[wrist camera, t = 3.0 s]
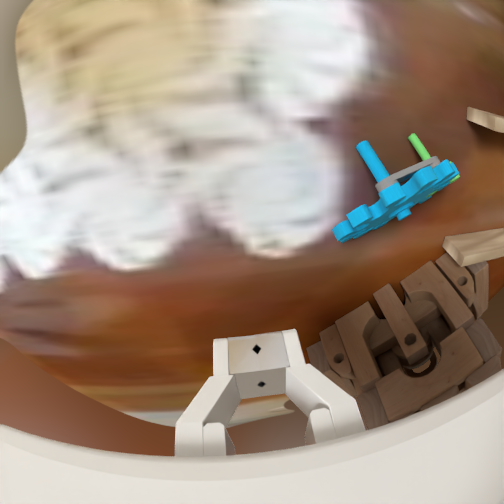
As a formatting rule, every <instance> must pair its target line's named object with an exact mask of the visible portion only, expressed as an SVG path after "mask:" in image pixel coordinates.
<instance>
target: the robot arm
mask: <svg viewBox="0 0 504 504" xmlns="http://www.w3.org/2000/svg"><path fill="white" fill-rule="evenodd" d="M213 373H214V376H212V377H209V378H208V380H207V381H206V382H205V384H204V385H203V387H202V388H201V389H200V391H199V392H198V394H197V395H196V396H195V398H194V399H193V401H192V402H191V403H190V405H189V406H188V407H187V409H186V410H185V411H184V413H183V414H182V416H181V417H180V418H179V420H178V421H177V422H176V433H175V456H151V455H138V454H128V453H120V452H112V451H105V450H98V449H93V448H87V447H82V446H77V445H72V444H67V443H63V442H59V441H55V440H51V439H47V438H43V437H40V436H36V435H33V434H29V433H26V432H23V431H20V430H17V429H14V428H12V427H9V426H6V425H2V424H0V504H504V369H502V370H501V371H499V372H497V373H496V374H494V375H492V376H491V377H489V378H487V379H486V380H484V381H482V382H480V383H479V384H477V385H475V386H473V387H471V388H469V389H467V390H466V391H464V392H462V393H460V394H458V395H456V396H454V397H452V398H450V399H447V400H445V401H443V402H441V403H439V404H437V405H434V406H432V407H430V408H428V409H425V410H423V411H420V412H418V413H415V414H413V415H410V416H408V417H405V418H403V419H400V420H397V421H394V422H391V423H389V424H386V425H383V426H380V427H377V428H373V429H370V430H367V431H366V430H365V427H364V424H363V421H362V418H361V415H360V412H359V409H358V406H357V403H356V400H355V399H354V398H353V397H351V396H350V395H349V394H347V393H346V392H345V391H344V390H342V389H341V388H340V387H338V386H337V385H336V384H335V383H333V382H332V381H331V380H330V379H328V378H327V377H326V376H325V375H323V374H322V373H321V372H320V371H318V370H317V369H316V368H315V367H313V366H312V365H311V364H306V363H305V359H304V356H303V352H302V348H301V345H300V341H299V337H298V334H297V331H296V329H291V330H285V331H277V332H270V333H264V334H257V335H253V336H243V337H232V338H221V339H214V342H213ZM284 393H286V395H287V396H288V397H289V398H290V399H291V400H292V401H293V402H294V403H295V404H296V405H297V407H298V408H299V409H300V410H301V411H302V412H303V413H304V414H305V415H306V416H307V417H308V418H309V420H308V424H307V429H306V434H305V442H306V446H301V447H295V448H290V449H283V450H276V451H269V452H261V453H252V454H242V455H235V447H234V445H233V443H232V441H231V439H230V437H229V435H228V433H227V431H226V427H227V425H228V423H229V422H230V420H231V418H232V416H233V414H234V412H235V410H236V409H237V407H238V405H239V403H240V401H241V399H246V398H253V397H260V396H267V395H276V394H284Z"/></svg>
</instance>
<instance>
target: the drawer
mask: <svg viewBox="0 0 504 504" xmlns="http://www.w3.org/2000/svg"><path fill="white" fill-rule="evenodd" d="M467 120H469V121H472V122H474V123H477V124H479V125H482V126H484V127H487V128H489V129H491V130H494V131H498V132H502V133H504V117H503V116H500V115H496V114H493V113H490V112H486V111H482V110H479V109H475V108H471V107H467ZM442 247H443V248H444V249H445V250H446V251H447V252H448V253H449V254H450V255H451V256H452V258H453V259H454V260H455V261H456V262H457V263H458V264H459V265H460V266H461V267H463V266H467V265H471V264H475V263H479V262H483V261H484V260H485V261H487V260H491V259H495V258H499V257H502V256H504V228H500V229H493V230H487V231H480V232H474V233H467V234H460V235H454V236H447V237H445V239H444V243H443V246H442Z"/></svg>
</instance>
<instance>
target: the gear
mask: <svg viewBox="0 0 504 504" xmlns="http://www.w3.org/2000/svg"><path fill="white" fill-rule="evenodd" d="M408 139H409V141H410V142H411V143H412V145H413V146H414V148H415V149H416V151H417V152H418V154H419V156H420V157H421V159H422V160H423V161H422V162H420V163H418V164H415V165H413V166H411V167H408V168H406V169H404V170H402V171H399V172H397V173H395V174H392V175H389V174H388V172H387V170H386V169H385V167H384V165H383V164H382V162H381V161H380V159H379V158H378V156H377V154H376V153H375V151H374V150H373V148H372V147H371V145H370V144H369V142H368V141H362V142H361V143H359V144H358V145H357V146H356V149H357V150H358V152H359V153H360V155H361V156H362V158H363V160H364V161H365V163H366V164H367V166H368V168H369V169H370V171H371V172H372V174H373V176H374V177H375V179H376V181H377V182H378V183H377V184H376V185H375V187H376V189H377V191H378V192H379V194H378V195H379V196H380V199H379V200H378V202H376V203H375V204H374V205H372V206H370V207H367V205H366V204H364V205H361V206H359V207H358V208H356V209H354V210H353V211H351V212H350V213H349V214H347V217H348V219H349V220H346V221H343V222H341V223H339V224H338V225H336V226H335V227H334V228H333V229H332V231H333V232H334V234H335V236H336V238H337V240H338V241H340V242H341V243H344V242H346V241H348V240H349V239H351V238H353V239H355V238H358V237H360V236H362V235H364V234H365V233H367V232H368V231H370V230H371V229H374V230H375V229H377V228H379V227H381V226H383V225H385V224H386V223H387V222H388V221H390V220H391V219H393V218H394V217H396V216H397V218H398V220H399V221H400V220H402V219H404V218H406V217H407V216H409V215H410V214H411V212H410V208H411V207H413V206H414V205H415V204H417V203H419V204H421V203H423V202H424V201H426V200H427V199H429V198H431V197H432V194H434V193H435V192H437V191H439V190H441V189H443V188H444V187H446V186H447V185H448V184H450V183H452V182H454V181H456V180H457V179H459V178H460V175H459V172H458V170H457V168H456V166H455V165H454V163H452V162H449V161H448V160H447V159H446V160H444V161H443V162H441V163H440V161H439V159H438V158H437V156H434V157H430V155H429V153H428V152H427V150H426V149H425V147H424V146H423V144H422V143H421V141H420V140H419V138H418V137H417V136H416V134H415V133H414V134H412V135H410V136H409V137H408ZM410 178H411V179H410ZM408 179H410V180H409V181H407V182H406V183H405V184H404V185H402V186H401V185H400V184H399V183H402V182H404V181H406V180H408Z"/></svg>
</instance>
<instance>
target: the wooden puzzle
mask: <svg viewBox="0 0 504 504" xmlns="http://www.w3.org/2000/svg"><path fill="white" fill-rule="evenodd" d="M435 263H436V266H435V265H434V264H433V262H432V261H431V260H430V261H429V262H427V263H426V264H425V265H423V266H422V267H420V268H419V269H418V270H416V271H415V272H413V273H412V274H411V275H409V276H408V277H406V278H405V279H403V280H402V281H400V284H401V286H402V289H403V291H404V294H405V297H406V299H405V305H404V306H403V304H402V302H401V301H400V299H399V297H398V296H397V294H396V293H395V291H394V290H393V288H392V286H391V285H390V283H388V284H387V285H385V286H384V287H382V288H381V289H379V290H378V291H376V292H375V293H373V296H374V298H375V299H376V301H377V303H378V305H379V307H380V308H381V310H382V312H383V314H384V316H385V318H386V319H379V318H378V317H377V315H376V313H375V311H374V309H373V308H372V306H371V304H370V303H369V301H367V302H366V303H364V304H363V305H361V306H360V307H358V308H356V309H355V310H353V311H351V312H350V313H348V314H346V315H345V316H343V317H341V318H340V319H338V320H336V321H335V324H333V325H332V326H330V327H328V328H326V329H325V330H323V331H321V332H319V335H320V338H321V341H319V342H317V343H315V344H313V345H311V346H310V347H308V348H306V349H307V353H308V357H309V360H310V364H311V365H312V366H313V367H315V368H316V369H317V370H318V371H320V372H321V373H322V374H323V375H325V376H326V377H327V378H328V379H330V380H331V381H332V382H333V383H335V384H336V385H337V386H338V387H340V388H341V389H342V390H344V391H345V392H346V393H347V394H349V395H350V396H357V395H358V396H357V398H358V400H359V404H360V407H361V410H362V413H363V416H364V419H365V422H366V425H367V428H368V430H370V429H373V428H377V427H380V426H383V425H386V424H389V423H391V422H394V421H397V420H400V419H403V418H405V417H408V416H410V415H413V414H415V413H418V412H420V411H423V410H425V409H428V408H430V407H432V406H434V405H437V404H439V403H441V402H443V401H445V400H447V399H450V398H452V397H454V396H456V395H458V394H460V393H462V392H464V391H466V390H467V389H469V388H471V387H473V386H475V385H477V384H479V383H480V382H482V381H484V380H486V379H487V378H489V377H491V376H492V375H494V374H496V373H497V372H499V371H501V363H500V355H501V352H502V348H501V346H500V345H499V343H498V342H497V340H496V339H495V337H494V336H493V334H492V333H491V331H490V330H489V328H488V327H487V325H486V324H485V323H484V321H483V320H482V318H480V317H481V316H482V313H483V312H484V311H486V310H487V308H488V263H487V262H486V261H485V260H484V261H483V262H479V263H475V264H471V265H467V266H463V267H461V266H460V265H459V264H458V263H457V262H456V261H455V260H454V259H453V258H452V256H451V255H450V254H449V253H448V252H446V253H445V254H444V255H442V256H441V257H440V258H438V259H437V260H436V261H435ZM434 347H436V349H437V350H438V352H439V354H440V356H441V359H440V361H439V363H438V365H437V358H436V355H435V353H434V351H433V348H434ZM429 359H430V361H431V363H430V366H429V367H428V368H427V369H426V370H424V371H423V372H421V373H414V372H413V370H412V369H414V368H417V367H419V366H421V365H423V364H424V363H426V362H427V361H428V360H429Z"/></svg>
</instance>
